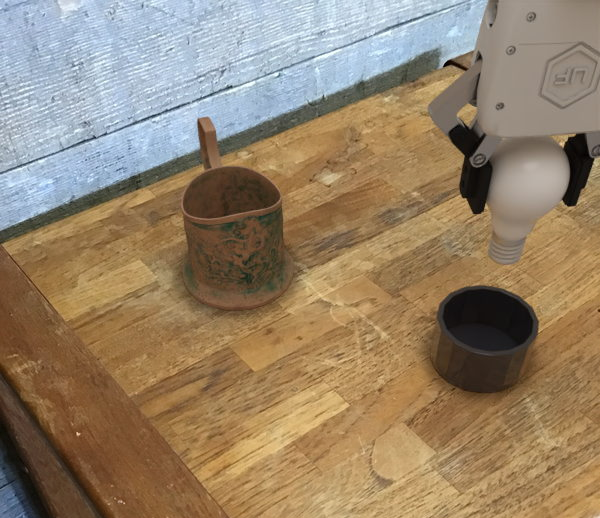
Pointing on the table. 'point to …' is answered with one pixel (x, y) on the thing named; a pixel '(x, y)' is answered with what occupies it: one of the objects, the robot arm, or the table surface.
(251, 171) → the mug
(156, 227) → the table surface
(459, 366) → the stand
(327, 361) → the table surface
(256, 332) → the table surface
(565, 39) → the robot arm
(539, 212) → the lightbulb
